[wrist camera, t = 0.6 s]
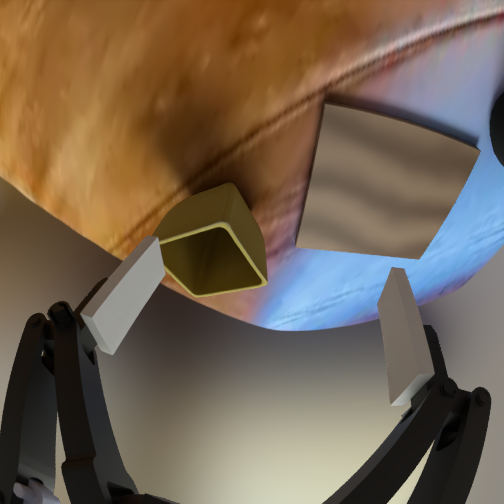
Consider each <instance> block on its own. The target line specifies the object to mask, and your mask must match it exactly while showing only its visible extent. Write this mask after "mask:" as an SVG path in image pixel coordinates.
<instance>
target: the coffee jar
mask: <svg viewBox="0 0 504 504" xmlns="http://www.w3.org/2000/svg"><path fill="white" fill-rule="evenodd" d="M490 137H491V142H492V146H493V151H494V153H495V155H496V157H497V158H498V160H499V162H500V163H501V164H502V165H503V167H504V93H503V94H502V95H501V96H500V98H499V99H498V100H497V102H496V104H495V106H494V108H493V111H492V115H491V120H490Z"/></svg>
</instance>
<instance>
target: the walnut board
mask: <svg viewBox="0 0 504 504" xmlns="http://www.w3.org/2000/svg"><path fill="white" fill-rule="evenodd" d="M480 152H481V151H480V150H479V149H478V148H477V147H476V146H474V145H472V144H470V143H467V142H465V141H463V140H460V139H458V138H456V137H453V136H451V135H448V134H446V133H443V132H440V131H438V130H435V129H432V128H429V127H426V126H423V125H420V124H417V123H414V122H411V121H408V120H405V119H401V118H398V117H395V116H391V115H387V114H384V113H380V112H376V111H372V110H368V109H363V108H359V107H354V106H350V105H345V104H340V103H334V102H329V101H323V107H322V113H321V118H320V124H319V130H318V135H317V140H316V146H315V151H314V156H313V161H312V166H311V171H310V176H309V181H308V186H307V191H306V195H305V200H304V205H303V209H302V214H301V219H300V223H299V227H298V232H297V236H296V241H295V246H296V247H298V248H309V249H319V250H329V251H340V252H350V253H360V254H370V255H380V256H390V257H400V258H409V259H420V258H421V256H422V255H423V253H424V252H425V250H426V249H427V247H428V246H429V244H430V243H431V241H432V240H433V238H434V237H435V235H436V233H437V232H438V230H439V229H440V227H441V225H442V224H443V222H444V221H445V219H446V217H447V216H448V214H449V212H450V210H451V209H452V207H453V205H454V203H455V202H456V200H457V198H458V196H459V194H460V193H461V191H462V189H463V187H464V185H465V183H466V181H467V179H468V177H469V175H470V173H471V171H472V169H473V167H474V165H475V163H476V161H477V159H478V156H479V154H480Z"/></svg>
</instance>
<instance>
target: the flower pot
mask: <svg viewBox="0 0 504 504" xmlns="http://www.w3.org/2000/svg"><path fill="white" fill-rule="evenodd" d="M152 236H155V237H158V239H159V245H160V250H161V255H162V260H163V265H164V269H165V270H166V271H167V272H168V273H169V274H170V275H171V276H172V277H173V278H174V279H175V280H176V281H177V282H178V283H179V284H180V285H181V286H182V287H183V288H184V289H185V290H186V291H188V292H189V293H190V294H191V295H192V296H194V297H205V296H211V295H216V294H222V293H228V292H234V291H240V290H246V289H252V288H258V287H262V286H265V285H267V284H268V280H267V265H266V252H265V244H264V239H263V236H262V233H261V230H260V228H259V226H258V224H257V222H256V220H255V218H254V217H253V215H252V213H251V212H250V210H249V208H248V206H247V205H246V203H245V201H244V200H243V198H242V196H241V195H240V193H239V191H238V189H237V188H236V186H235V185H234V184H233V183H232V182H228V183H225V184H222V185H219V186H217V187H214V188H211V189H209V190H206V191H203V192H200V193H197V194H195V195H193V196H191V197H188V198H186V199H185V200H183V201H181V202H180V203H178V204H177V205H175V206H174V207H173V208H172V209H171V210H170V211H169V212H168V213H167V214H166V215H165V217H164V218H163V219H162V221H161V222H160V224H159V225H158V227H157V228H156V230H155V231H154V233H153V235H152Z"/></svg>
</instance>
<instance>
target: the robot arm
mask: <svg viewBox="0 0 504 504" xmlns="http://www.w3.org/2000/svg"><path fill="white" fill-rule="evenodd" d="M164 276H165V269H164V265H163V260H162V255H161V250H160V245H159V239H158V237H155V236H146V237H145V238H144V239H143V240H142V242H141V243H140V244H139V245H138V246H137V247H136V248H135V249H134V250H133V251H132V252H131V254H130V255H129V256H128V257H127V258H126V259H125V260H124V261H123V262H122V264H121V265H120V266H119V267H118V268H117V269H116V270H115V272H114V273H113V274H112V275H111V276H110V277H109V278H104V279H102V280H101V281H100V282H98V283H97V284H96V285H95V286H94V288H93V289H92V291H90V292H89V294H88V296H86V297H85V298H84V300H83V301H82V302H81V303H80V304H79V306H78V307H77V308H76V309H75V311H74V312H73V311H72V309H71V307H70V306H69V304H68V303H67V302H65V301H60V302H57V303H55V304H53V305H52V306H51V307H50V309H49V310H48V313H47V315H48V317H49V318H50V320H47V319H46V317H45V316H44V314H42V313H36V314H34V315H32V316H31V317H30V318H29V319H28V321H27V323H26V325H25V328H24V331H23V334H22V337H21V340H20V343H19V346H18V350H17V353H16V357H15V360H14V364H13V367H12V371H11V375H10V379H9V384H8V388H7V393H6V398H5V403H4V409H3V415H2V422H1V430H0V504H60V501H59V499H58V498H57V497H55V496H54V494H53V493H54V488H55V446H56V424H57V412H58V417H59V423H60V430H61V436H62V441H63V446H64V451H65V455H66V460H65V462H63V463H62V466H61V468H62V475H63V478H64V482H65V485H66V489H67V493H68V496H69V499H70V502H71V504H179V503H176V502H173V501H170V500H167V499H165V498H161V497H157V496H153V495H150V494H146V493H145V494H139V493H138V490H137V488H136V486H135V484H134V481H133V480H132V478H131V477H130V476H129V474H128V473H127V471H126V470H125V467H124V465H123V462H122V459H121V456H120V453H119V450H118V447H117V444H116V441H115V437H114V434H113V431H112V427H111V423H110V419H109V416H108V412H107V407H106V403H105V398H104V395H103V389H102V384H101V379H100V374H99V368H98V362H97V355H96V351H95V349H94V348H95V346H96V345H97V344H98V346H99V348H100V349H101V351H103V352H106V353H108V354H111V355H113V354H114V352H115V351H116V349H117V348H118V346H119V344H120V343H121V341H122V339H123V338H124V336H125V335H126V333H127V332H128V330H129V328H130V327H131V325H132V324H133V322H134V321H135V319H136V317H137V316H138V314H139V313H140V311H141V310H142V308H143V307H144V305H145V304H146V302H147V301H148V299H149V298H150V296H151V295H152V293H153V292H154V290H155V289H156V287H157V286H158V284H159V283H160V281H161V280H162V278H163V277H164ZM377 306H378V311H379V317H380V323H381V329H382V335H383V342H384V348H385V357H386V365H387V375H388V385H389V397H390V406H400V405H405V404H406V403H407V402H409V401H410V400H411V407H410V408H409V409H408V410H407V411H406V412H405V413H404V414H403V415H402V417H403V418H402V419H401V420H400V422H399V423H398V424H397V426H396V427H395V428H394V430H393V431H392V432H391V433H390V435H389V436H388V437H387V438H386V440H385V441H384V442H383V443H382V444H381V445H380V447H379V448H378V449H377V450H376V451H375V453H374V454H373V455H372V456H371V457H370V458H369V459H368V460H367V461H366V462H365V463H364V465H363V466H362V467H361V468H360V469H359V470H358V471H357V472H356V473H355V474H354V475H353V476H352V477H351V478H350V479H349V480H348V481H347V482H346V483H345V484H344V485H342V486H341V487H340V488H339V489H338V490H337V491H336V492H335V493H334V494H333V495H332V496H330V497H329V498H328V499H327V500H326V501H325V502H323V503H322V504H387V503H388V502H389V500H390V499H391V498H392V497H393V496H394V495H395V493H396V492H397V491H398V490H399V489H400V487H401V486H402V485H403V483H404V482H405V481H406V480H407V479H408V477H409V476H410V475H411V473H412V472H413V471H414V469H415V468H416V466H417V465H418V464H419V462H420V461H421V459H422V457H423V456H424V455H425V453H426V452H427V450H428V449H429V447H430V446H431V444H432V443H433V441H434V443H433V446H432V449H431V451H430V454H429V457H428V459H427V462H426V464H425V466H424V469H423V471H422V474H421V476H420V478H419V480H418V482H417V484H416V486H415V489H414V491H413V493H412V495H411V497H410V498H409V500H408V502H407V504H465V502H466V500H467V497H468V495H469V492H470V489H471V487H472V484H473V481H474V478H475V475H476V472H477V468H478V465H479V461H480V458H481V454H482V450H483V446H484V441H485V437H486V432H487V427H488V421H489V415H490V409H491V397H490V394H489V392H488V391H487V390H486V389H485V388H483V387H478V388H475V390H473V391H472V392H468V391H465V390H461V389H459V388H458V387H457V384H456V383H455V382H454V381H453V380H452V379H451V378H449V377H448V375H447V371H446V367H445V362H444V358H443V355H442V351H441V347H440V344H439V340H438V337H437V333H436V332H435V330H434V329H433V328H432V326H431V325H423V324H422V321H421V317H420V314H419V311H418V308H417V305H416V301H415V298H414V295H413V292H412V289H411V287H410V284H409V281H408V278H407V275H406V273H405V270H404V269H403V268H395V267H392V268H391V271H390V273H389V276H388V279H387V281H386V284H385V286H384V289H383V291H382V294H381V296H380V299H379V301H378V304H377ZM42 351H43V352H44V353H43V356H41V355H42ZM434 439H435V440H434Z"/></svg>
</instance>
